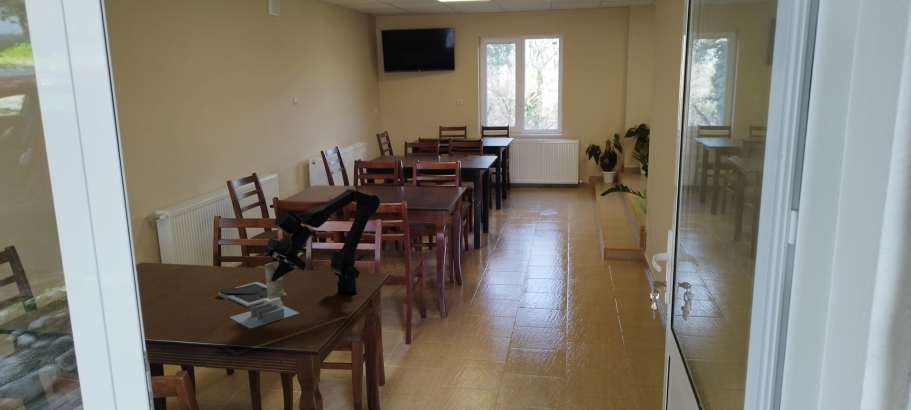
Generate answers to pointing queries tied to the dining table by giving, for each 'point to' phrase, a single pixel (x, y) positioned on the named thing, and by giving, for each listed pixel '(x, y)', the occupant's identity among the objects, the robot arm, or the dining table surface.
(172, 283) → the dining table surface
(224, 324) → the dining table surface
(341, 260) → the robot arm
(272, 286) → the birch panel
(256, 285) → the picture frame
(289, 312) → the slot rack
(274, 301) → the offcut stack
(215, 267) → the dining table surface
